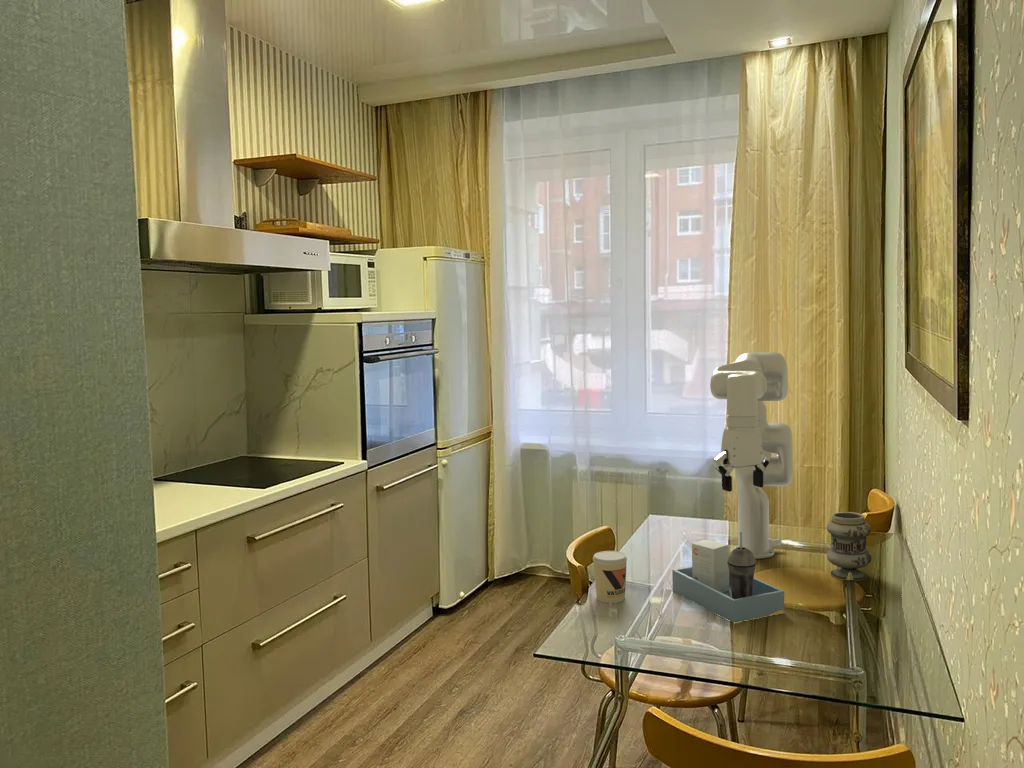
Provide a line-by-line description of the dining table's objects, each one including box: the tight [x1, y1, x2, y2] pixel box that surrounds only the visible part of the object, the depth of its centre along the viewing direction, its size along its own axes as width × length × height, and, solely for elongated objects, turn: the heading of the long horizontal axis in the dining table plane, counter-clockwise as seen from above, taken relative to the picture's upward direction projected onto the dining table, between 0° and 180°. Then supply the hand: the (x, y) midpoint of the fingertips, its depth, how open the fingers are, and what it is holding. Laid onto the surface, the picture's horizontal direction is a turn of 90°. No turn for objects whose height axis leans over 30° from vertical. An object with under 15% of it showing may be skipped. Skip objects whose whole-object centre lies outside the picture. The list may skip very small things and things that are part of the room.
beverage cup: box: [727, 532, 757, 599], centre depth 211 cm, size 7×7×20 cm
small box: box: [691, 539, 730, 593], centre depth 224 cm, size 8×6×13 cm
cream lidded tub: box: [592, 550, 628, 604], centre depth 223 cm, size 9×9×12 cm
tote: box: [671, 565, 785, 622], centre depth 218 cm, size 16×28×6 cm, turn 22°
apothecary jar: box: [826, 511, 872, 582], centre depth 235 cm, size 12×12×18 cm
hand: (742, 488), depth 208 cm, fingers open, 9 cm apart
